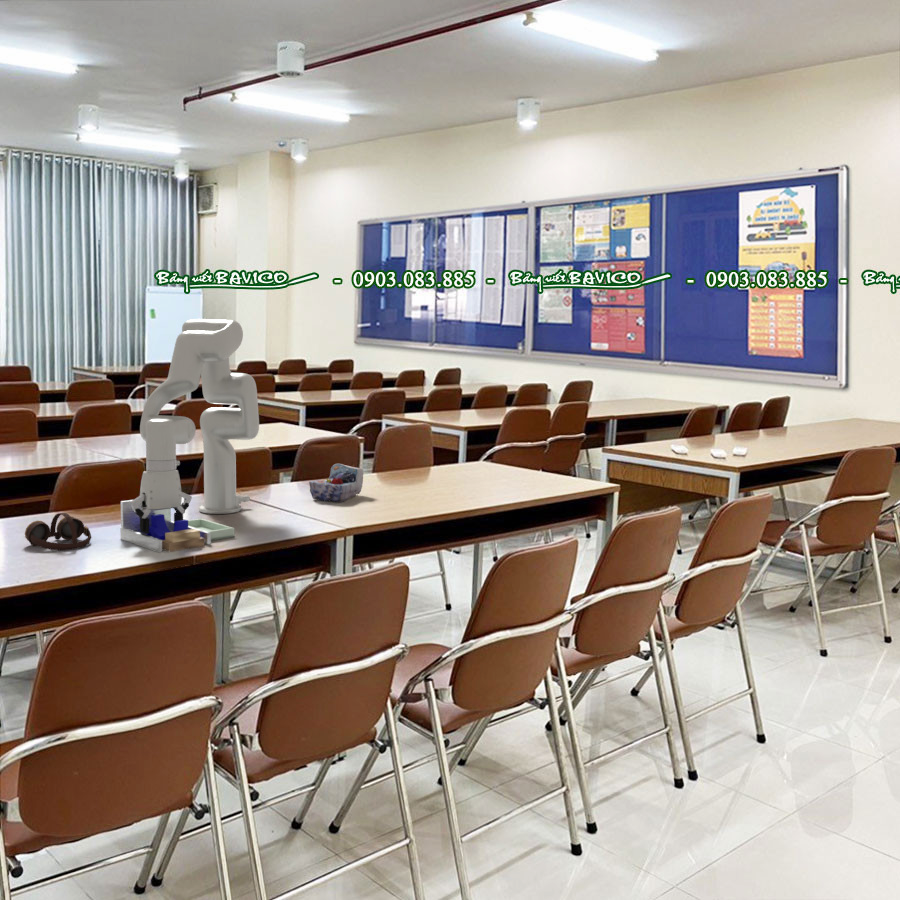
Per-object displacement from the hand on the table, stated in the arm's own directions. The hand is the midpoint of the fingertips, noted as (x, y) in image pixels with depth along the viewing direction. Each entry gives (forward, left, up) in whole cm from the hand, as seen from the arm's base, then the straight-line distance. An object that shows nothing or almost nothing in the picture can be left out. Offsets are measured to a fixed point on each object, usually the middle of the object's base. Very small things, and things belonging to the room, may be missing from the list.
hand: (161, 530), depth 269 cm
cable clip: (-2, 0, -3) cm, 4 cm away
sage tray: (-13, 0, -3) cm, 13 cm away
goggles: (+22, -12, -3) cm, 25 cm away
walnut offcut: (0, +10, -3) cm, 10 cm away
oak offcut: (0, +10, -1) cm, 10 cm away
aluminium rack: (0, +1, -3) cm, 3 cm away
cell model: (-75, -21, -3) cm, 78 cm away
